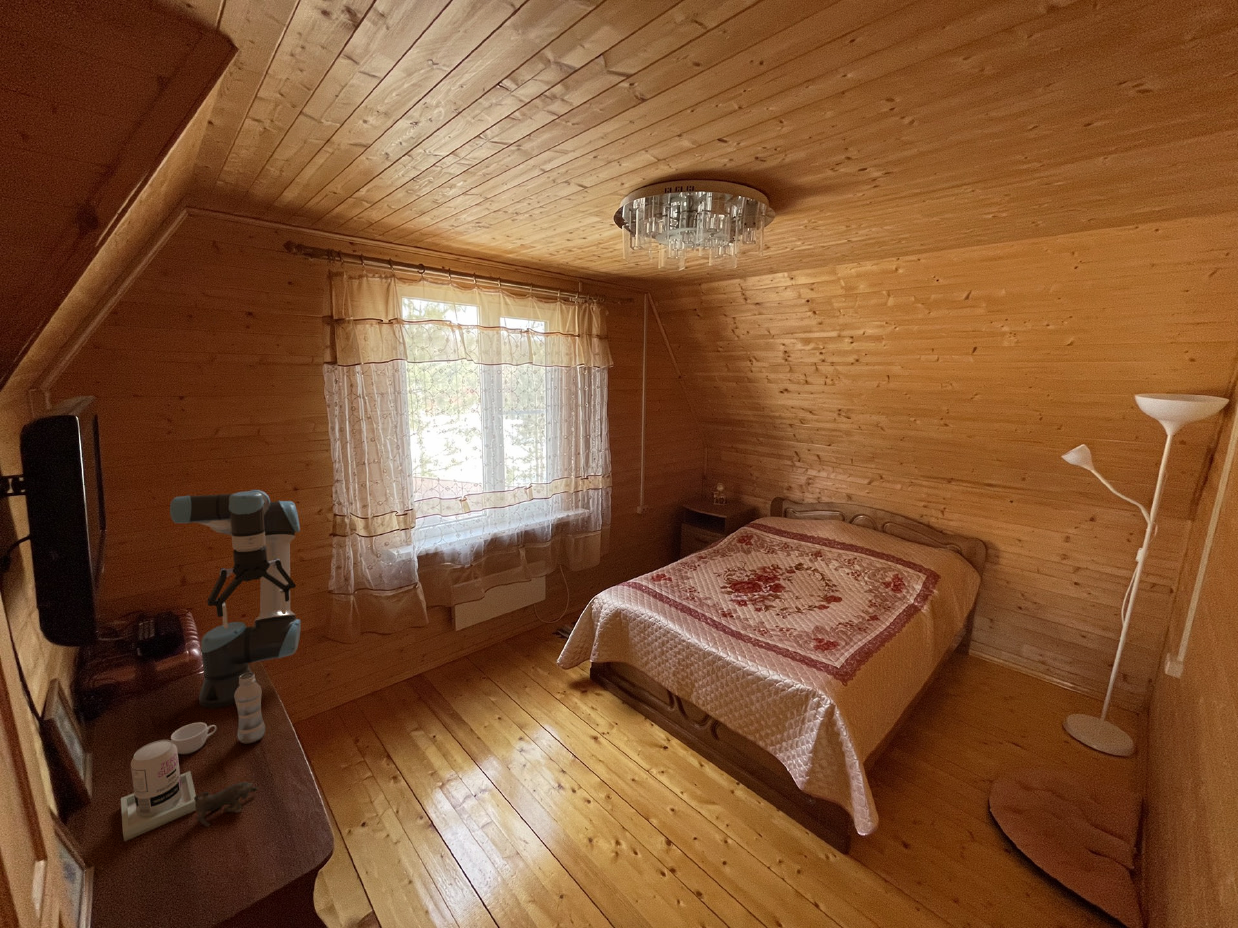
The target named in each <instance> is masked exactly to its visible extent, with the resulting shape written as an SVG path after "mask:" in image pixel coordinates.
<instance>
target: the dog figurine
mask: <svg viewBox="0 0 1238 928" xmlns="http://www.w3.org/2000/svg"><path fill="white" fill-rule="evenodd" d="M257 791H258V787H255V786H254V782H247V781H242V782H238V783H236V784H235V783H234V784H232V785H230V786H228V787H226V788H225V789H222V790H221V791H219V792H216V793H213V794H210V792H209V791H203V792H200V793H198V794H197V795H196V796H195V798H194V800H195V801H196V804H195V807H196V810H195V811H196V812H197V817H196V820H197V821H198V822H200V823H201V825H202V826H203V825H204V826H205V827H206V828H208V827H210V826H211V822H210V821H208V820H207V819H206V818H205V816H206V815H207V813H208V812H212V811H216V810H219V809H220V808H222V807H224V806H226V805H229V806H226V808H224V809H223V810H224V811H225V812H228V813H237V814H238V813H241V812H242V810H243V809H241V808H242V803H240V801H239V800H240V799H242V800H246V799H248V796H249V793H251V792H254V793H255V792H257Z"/></svg>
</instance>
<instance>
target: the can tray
mask: <svg viewBox="0 0 1238 928" xmlns="http://www.w3.org/2000/svg"><path fill="white" fill-rule="evenodd" d="M180 780H181V790H182V796H181V798H180V800H179V801H178V802H177V803H176V805H175V806H173V807H172V808H171V809H169V810H167V811H164V812H162V813H160V814H157V815H155V816H153V817H142V816H139V815H138V814H137V812H136V804H135V796H134V792H132V793H131V794H127V795H126V796H123V797H121V798H120V807H121V824H122V835H123V841H124V843H125V842H126V841H129V840H131V839H133V838H136V837H137V836H138V837H139V836H140V835H142V834H146V833H147V832H150V831H152V830H154V829H156V828H158V827H161V826H163V825H165V824H168V823H170V822H172V821H174V820H177V819H179V818H181V817H184V816H186V815H188V814H191V813H192V812H193V813H194V811H197V810H196V807H195V804H196V801H195V800H194V798H195V796H196V790H195V785H194V782H193V778H192V772H191V770H189V771H187V772H186V771H185V772H184V773H182V774H181V773H180Z"/></svg>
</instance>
